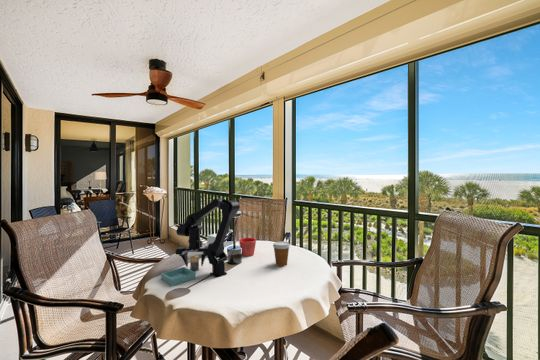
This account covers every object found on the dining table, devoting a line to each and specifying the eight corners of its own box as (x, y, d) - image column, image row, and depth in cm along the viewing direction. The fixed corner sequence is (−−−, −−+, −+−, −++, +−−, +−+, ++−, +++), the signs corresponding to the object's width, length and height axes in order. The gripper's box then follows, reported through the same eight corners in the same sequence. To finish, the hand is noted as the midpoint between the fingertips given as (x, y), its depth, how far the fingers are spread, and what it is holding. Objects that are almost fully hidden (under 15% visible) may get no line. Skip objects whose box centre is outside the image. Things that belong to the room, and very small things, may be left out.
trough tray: (195, 278, 121) (195, 272, 121) (172, 286, 113) (172, 279, 113) (184, 272, 129) (184, 266, 129) (161, 279, 121) (161, 273, 121)
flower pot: (255, 257, 154) (255, 241, 154) (238, 257, 154) (238, 241, 154) (256, 252, 165) (256, 237, 165) (240, 252, 165) (240, 237, 165)
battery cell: (200, 269, 134) (200, 256, 134) (192, 271, 131) (192, 258, 131) (196, 267, 137) (196, 254, 137) (188, 269, 134) (188, 256, 134)
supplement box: (214, 257, 156) (214, 236, 156) (206, 254, 160) (206, 235, 160) (223, 254, 161) (223, 234, 161) (215, 252, 166) (215, 233, 166)
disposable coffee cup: (270, 266, 138) (270, 244, 138) (276, 260, 147) (276, 240, 147) (286, 268, 135) (286, 246, 135) (292, 262, 144) (291, 242, 144)
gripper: (214, 233, 142) (215, 261, 142) (181, 234, 142) (182, 261, 142) (210, 238, 131) (210, 267, 131) (174, 238, 130) (175, 268, 130)
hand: (194, 266), depth 134 cm, fingers open, 8 cm apart
